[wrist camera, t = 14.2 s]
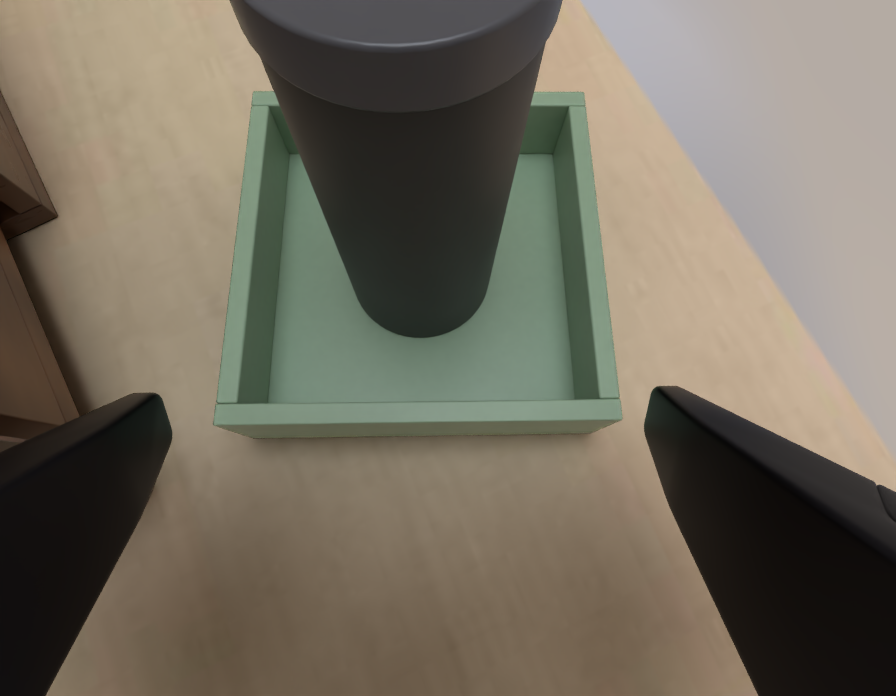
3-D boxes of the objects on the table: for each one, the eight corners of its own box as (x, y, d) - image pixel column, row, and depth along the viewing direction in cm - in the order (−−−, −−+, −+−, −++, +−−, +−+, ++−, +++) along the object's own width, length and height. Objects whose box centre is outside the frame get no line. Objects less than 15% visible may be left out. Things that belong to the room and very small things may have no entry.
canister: (476, 354, 17) (549, 82, 6) (333, 324, 17) (141, 5, 6) (503, 226, 18) (603, -188, 7) (370, 199, 18) (271, -242, 7)
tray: (591, 433, 17) (623, 419, 14) (251, 438, 16) (212, 425, 14) (563, 149, 20) (584, 90, 17) (279, 150, 20) (252, 90, 17)
